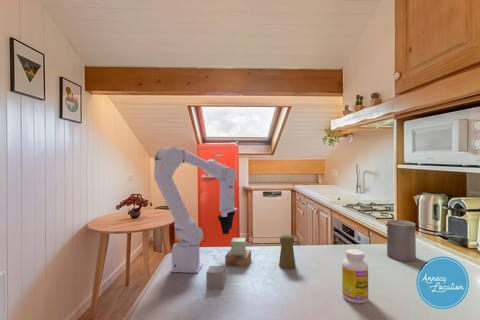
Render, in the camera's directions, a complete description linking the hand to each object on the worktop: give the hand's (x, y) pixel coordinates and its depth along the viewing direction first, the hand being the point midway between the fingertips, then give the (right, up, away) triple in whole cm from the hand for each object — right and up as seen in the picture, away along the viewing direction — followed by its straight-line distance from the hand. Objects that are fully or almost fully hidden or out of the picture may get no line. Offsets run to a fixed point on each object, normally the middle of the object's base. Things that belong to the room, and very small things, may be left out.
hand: (227, 231), depth 108 cm
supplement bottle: (+37, -10, -33) cm, 51 cm away
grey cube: (-2, -10, -24) cm, 26 cm away
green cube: (+5, -7, -6) cm, 10 cm away
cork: (+22, -10, -9) cm, 26 cm away
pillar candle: (+68, -10, -2) cm, 69 cm away
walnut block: (+5, -11, -5) cm, 13 cm away
